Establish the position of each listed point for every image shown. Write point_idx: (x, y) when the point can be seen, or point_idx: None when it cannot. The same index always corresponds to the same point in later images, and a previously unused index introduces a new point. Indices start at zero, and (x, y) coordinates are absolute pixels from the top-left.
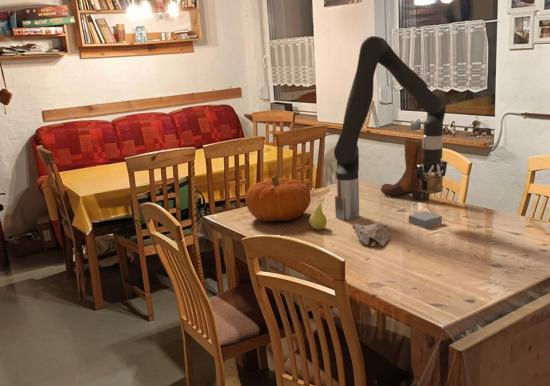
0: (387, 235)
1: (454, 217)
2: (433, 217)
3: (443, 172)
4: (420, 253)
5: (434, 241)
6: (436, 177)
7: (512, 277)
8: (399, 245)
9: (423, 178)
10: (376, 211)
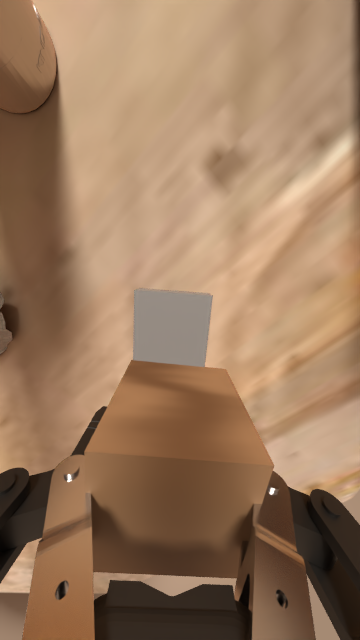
0: (2, 338)
1: (270, 347)
2: (176, 359)
3: (322, 600)
4: (15, 446)
5: (88, 423)
6: (175, 565)
7: None
8: (4, 390)
9: (27, 541)
10: (148, 91)
